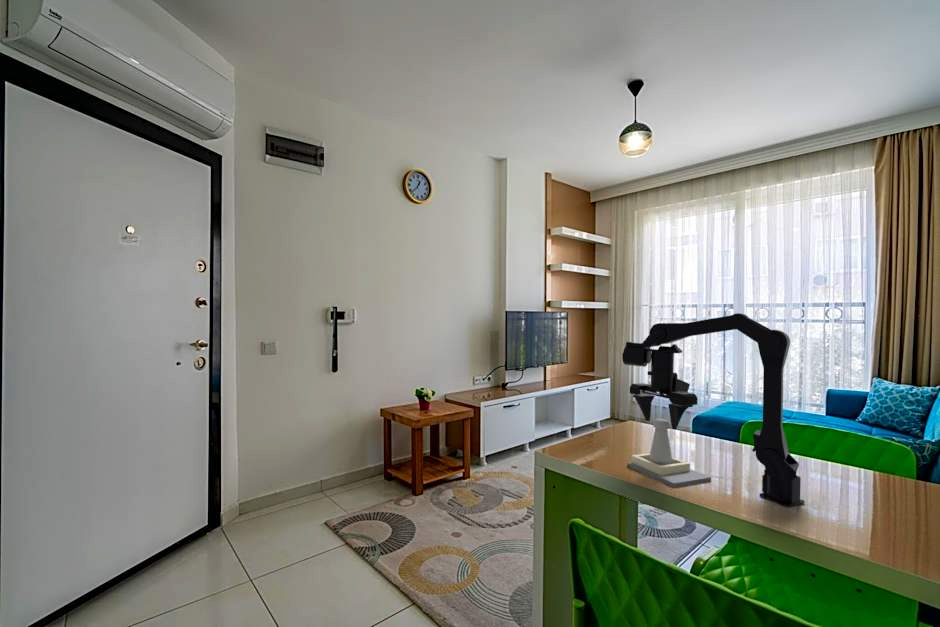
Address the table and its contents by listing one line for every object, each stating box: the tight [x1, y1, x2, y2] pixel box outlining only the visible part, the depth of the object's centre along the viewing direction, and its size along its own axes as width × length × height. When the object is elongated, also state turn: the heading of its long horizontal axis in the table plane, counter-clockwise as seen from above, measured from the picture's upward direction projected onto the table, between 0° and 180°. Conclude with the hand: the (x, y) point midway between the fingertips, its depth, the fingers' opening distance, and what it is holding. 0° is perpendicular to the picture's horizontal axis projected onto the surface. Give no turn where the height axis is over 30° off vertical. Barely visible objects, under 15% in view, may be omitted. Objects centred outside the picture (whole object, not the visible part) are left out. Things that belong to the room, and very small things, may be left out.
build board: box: [626, 452, 712, 488], centre depth 116 cm, size 16×13×3 cm
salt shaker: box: [649, 418, 673, 466], centre depth 118 cm, size 6×6×13 cm
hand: (660, 424), depth 118 cm, fingers open, 9 cm apart
